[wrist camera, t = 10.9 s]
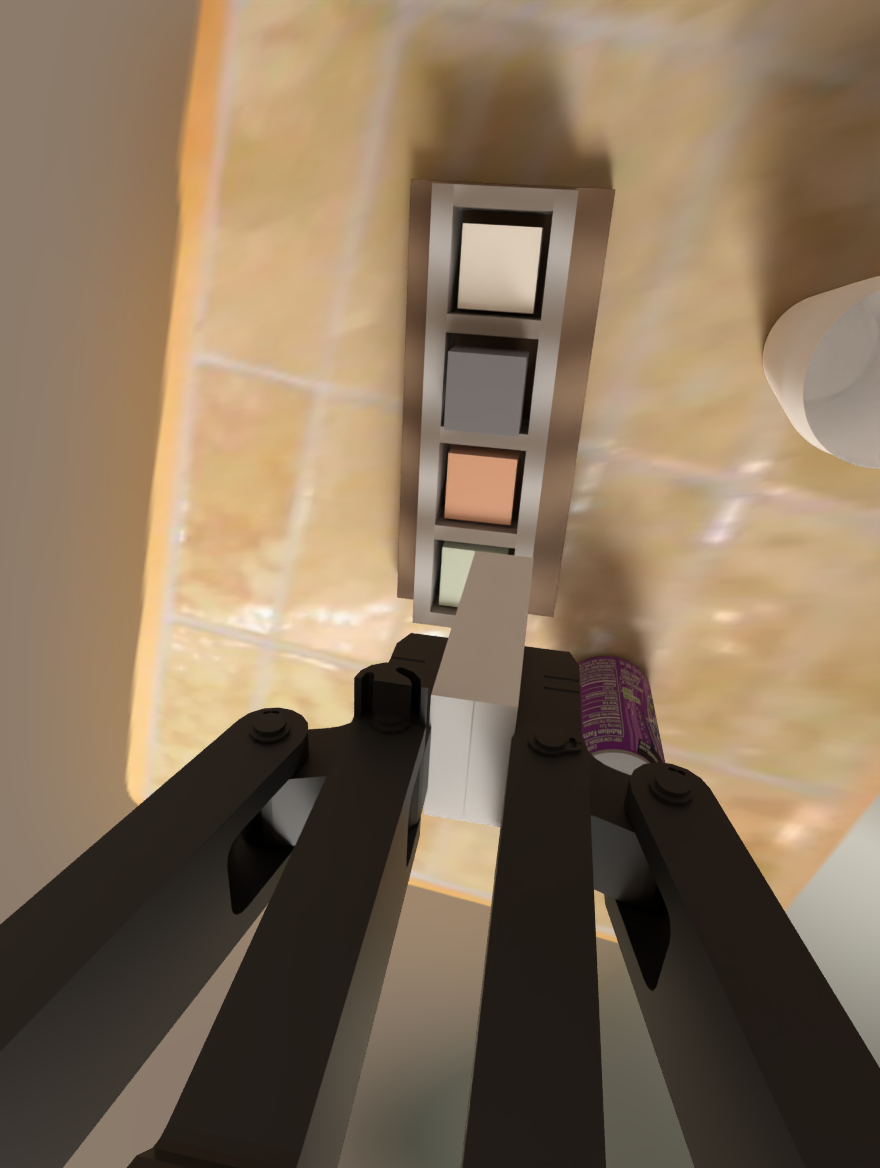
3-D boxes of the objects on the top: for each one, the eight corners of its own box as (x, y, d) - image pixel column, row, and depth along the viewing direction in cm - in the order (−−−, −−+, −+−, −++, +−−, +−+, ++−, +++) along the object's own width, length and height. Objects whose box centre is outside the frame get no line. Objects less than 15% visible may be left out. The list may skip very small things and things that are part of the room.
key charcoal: (455, 345, 41) (448, 351, 39) (529, 351, 41) (526, 357, 38) (451, 419, 43) (443, 429, 40) (521, 425, 43) (518, 436, 40)
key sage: (449, 531, 49) (442, 547, 47) (510, 538, 49) (507, 554, 46) (445, 586, 51) (439, 604, 49) (504, 594, 51) (501, 612, 48)
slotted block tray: (417, 182, 43) (394, 170, 37) (613, 192, 41) (621, 181, 36) (402, 586, 55) (383, 625, 49) (553, 605, 53) (552, 647, 48)
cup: (718, 400, 45) (766, 444, 35) (781, 253, 41) (857, 250, 31) (853, 438, 45) (943, 494, 34) (929, 293, 41) (1059, 304, 30)
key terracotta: (455, 441, 46) (448, 452, 44) (520, 448, 46) (517, 459, 43) (451, 503, 48) (444, 517, 46) (513, 510, 48) (510, 525, 45)
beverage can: (626, 736, 57) (640, 845, 47) (546, 706, 58) (542, 808, 47) (665, 670, 54) (690, 770, 44) (581, 638, 54) (585, 731, 44)
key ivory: (469, 225, 41) (462, 223, 38) (543, 229, 40) (542, 227, 38) (464, 305, 43) (457, 308, 40) (535, 310, 42) (533, 313, 40)
